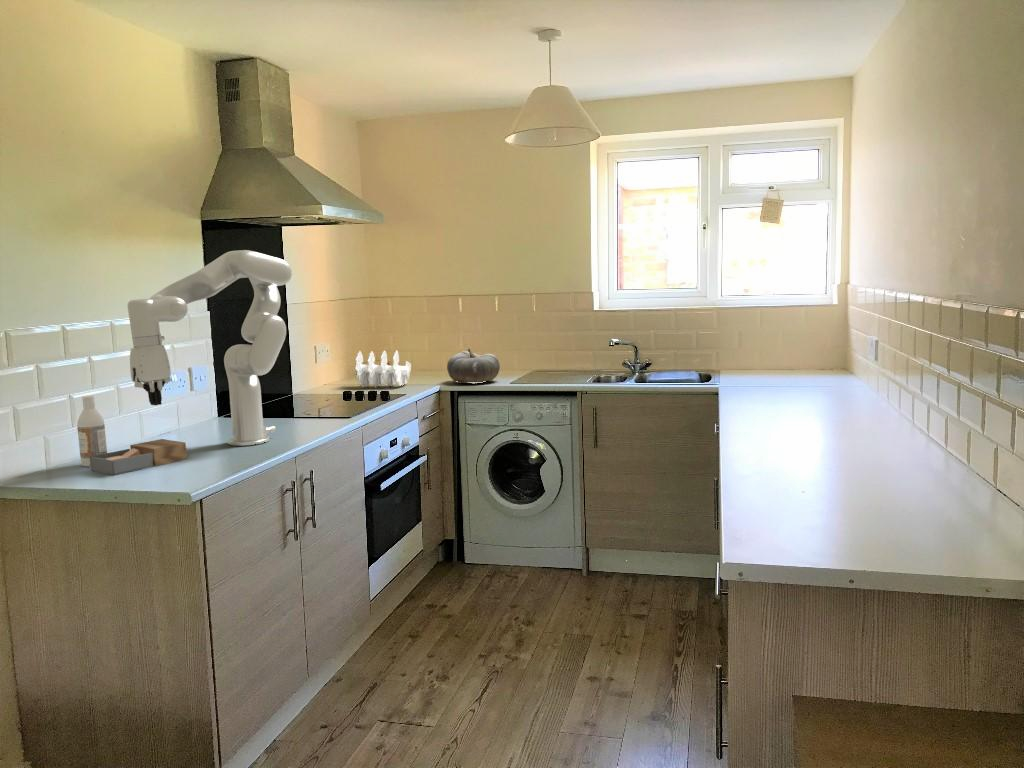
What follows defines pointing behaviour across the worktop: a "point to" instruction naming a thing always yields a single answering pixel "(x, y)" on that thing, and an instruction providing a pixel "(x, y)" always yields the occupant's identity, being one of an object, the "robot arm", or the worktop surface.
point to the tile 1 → (131, 453)
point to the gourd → (473, 367)
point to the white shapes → (381, 370)
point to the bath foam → (90, 432)
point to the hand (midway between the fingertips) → (156, 404)
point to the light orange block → (115, 458)
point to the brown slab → (163, 450)
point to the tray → (120, 463)
